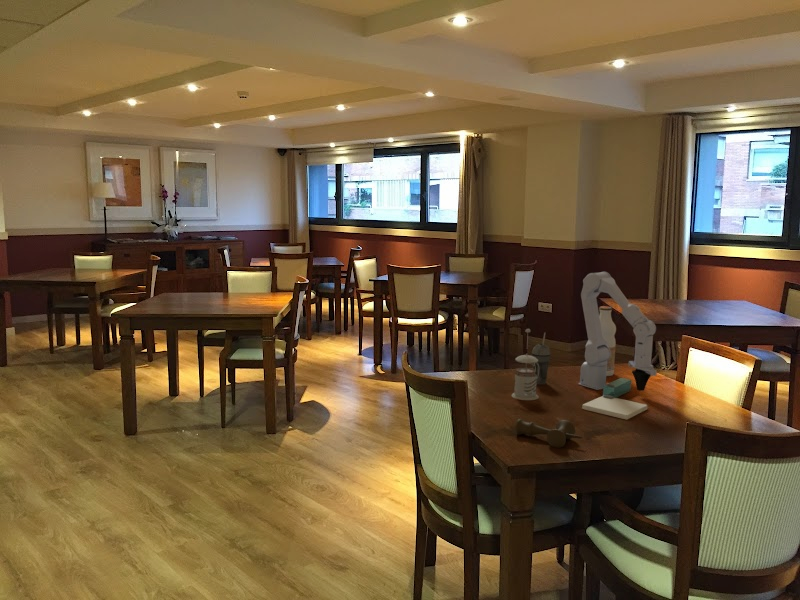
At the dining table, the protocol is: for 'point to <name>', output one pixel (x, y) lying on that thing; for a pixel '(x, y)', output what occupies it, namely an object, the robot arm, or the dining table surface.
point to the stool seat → (614, 407)
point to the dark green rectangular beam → (617, 387)
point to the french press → (525, 378)
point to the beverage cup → (541, 361)
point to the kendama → (549, 431)
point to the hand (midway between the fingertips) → (640, 390)
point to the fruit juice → (608, 335)
